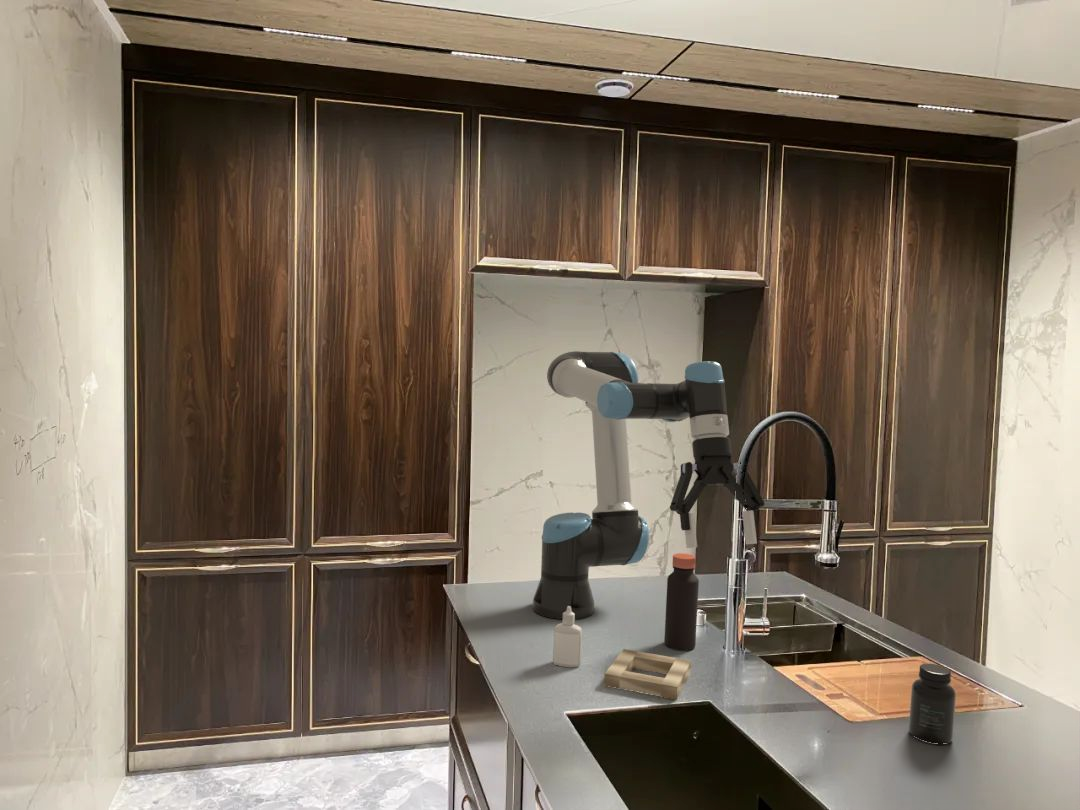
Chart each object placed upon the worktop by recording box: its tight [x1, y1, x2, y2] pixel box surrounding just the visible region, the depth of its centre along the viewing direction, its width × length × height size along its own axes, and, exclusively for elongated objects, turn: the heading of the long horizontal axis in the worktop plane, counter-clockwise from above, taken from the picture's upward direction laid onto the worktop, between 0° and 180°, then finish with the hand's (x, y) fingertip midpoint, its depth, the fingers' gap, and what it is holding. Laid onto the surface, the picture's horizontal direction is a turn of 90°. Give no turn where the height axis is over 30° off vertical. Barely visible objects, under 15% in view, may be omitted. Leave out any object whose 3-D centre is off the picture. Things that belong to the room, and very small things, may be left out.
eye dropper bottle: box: [552, 606, 583, 668], centre depth 165 cm, size 4×6×12 cm
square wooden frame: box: [603, 648, 692, 701], centre depth 159 cm, size 14×14×2 cm
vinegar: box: [663, 552, 700, 652], centre depth 177 cm, size 7×7×20 cm
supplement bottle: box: [908, 663, 957, 744], centre depth 139 cm, size 7×7×12 cm
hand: (722, 546), depth 158 cm, fingers open, 13 cm apart
